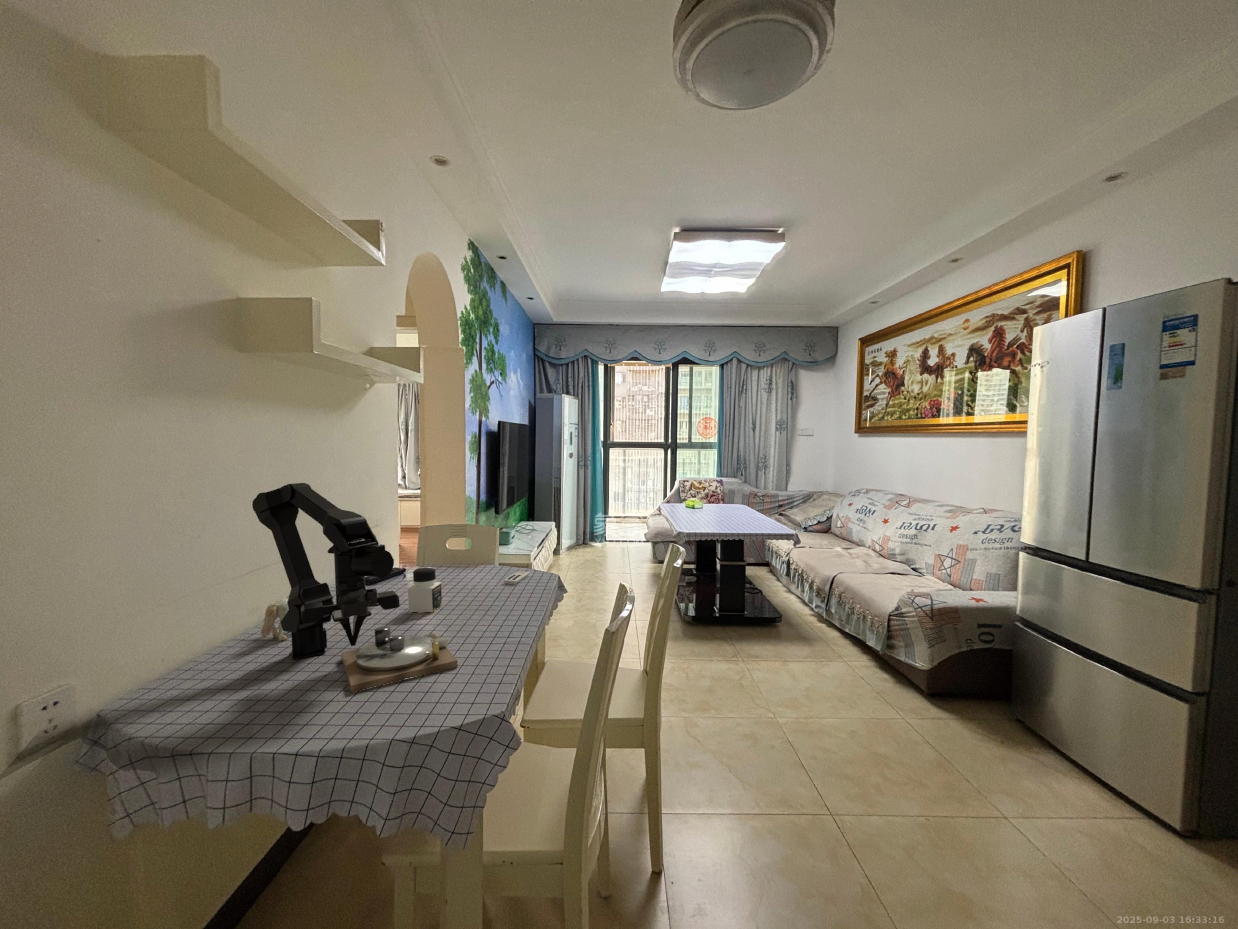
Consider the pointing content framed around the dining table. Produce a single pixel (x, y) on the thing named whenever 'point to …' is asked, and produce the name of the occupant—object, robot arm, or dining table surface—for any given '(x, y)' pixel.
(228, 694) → the dining table surface
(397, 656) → the flange plate
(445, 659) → the base board
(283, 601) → the unicorn figurine
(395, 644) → the post
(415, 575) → the medicine bottle
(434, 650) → the dowel
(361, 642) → the dining table surface
